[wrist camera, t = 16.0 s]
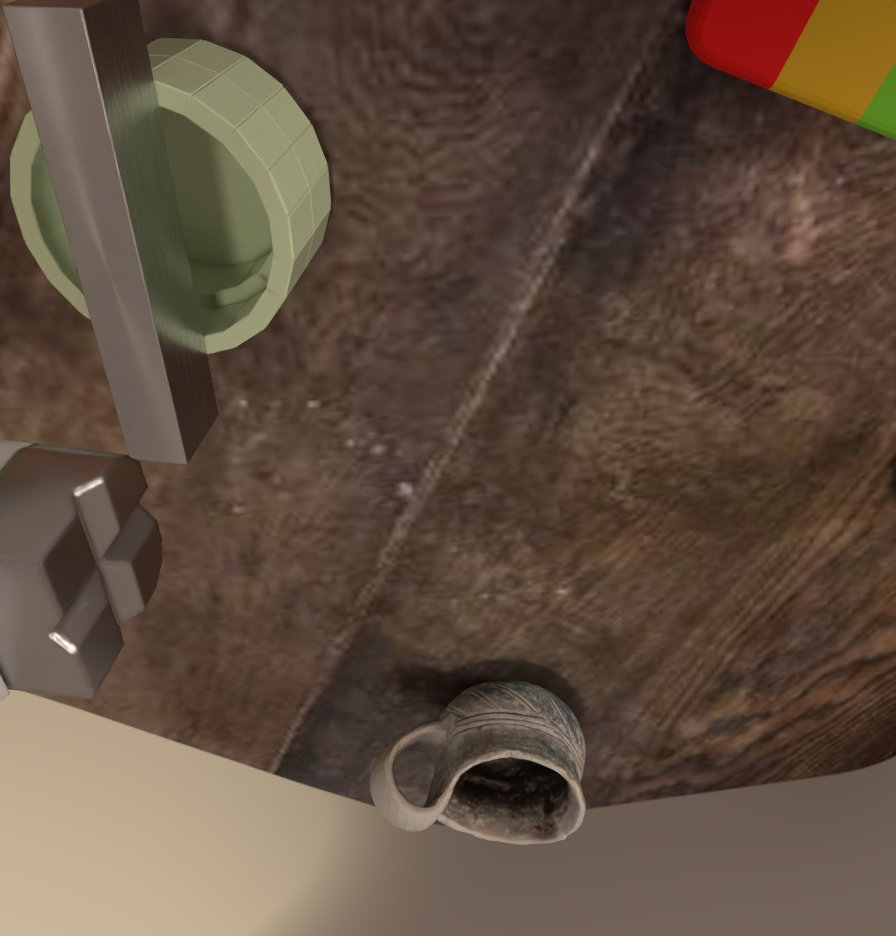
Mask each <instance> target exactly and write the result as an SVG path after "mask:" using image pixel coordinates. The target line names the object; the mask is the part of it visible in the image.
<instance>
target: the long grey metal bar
mask: <svg viewBox="0 0 896 936" xmlns="http://www.w3.org/2000/svg"><path fill="white" fill-rule="evenodd" d="M2 8H3V11H4V15H5V19H6V22H7V26H8V29H9V33H10V36H11V40H12V43H13V47H14V50H15V54H16V57H17V61H18V65H19V68H20V72H21V75H22V79H23V82H24V86H25V89H26V93H27V96H28V100H29V103H30V107H31V111H32V114H33V118H34V121H35V125H36V128H37V132H38V135H39V139H40V142H41V146H42V149H43V153H44V157H45V160H46V164H47V167H48V171H49V174H50V178H51V181H52V185H53V188H54V192H55V195H56V199H57V203H58V206H59V210H60V213H61V217H62V220H63V224H64V227H65V231H66V234H67V238H68V241H69V245H70V249H71V252H72V256H73V259H74V263H75V266H76V270H77V273H78V277H79V280H80V284H81V287H82V291H83V295H84V298H85V302H86V305H87V309H88V312H89V316H90V319H91V323H92V326H93V330H94V333H95V337H96V341H97V344H98V348H99V351H100V355H101V358H102V362H103V365H104V369H105V372H106V376H107V379H108V383H109V387H110V390H111V394H112V397H113V401H114V404H115V408H116V411H117V415H118V418H119V422H120V425H121V429H122V433H123V436H124V440H125V443H126V447H127V450H128V454H129V456H130V457H132V458H134V459H136V460H145V461H155V462H165V463H175V464H185V465H186V464H188V462H189V461H190V459H191V458H192V456H193V455H194V453H195V451H196V450H197V448H198V447H199V445H200V444H201V442H202V440H203V439H204V437H205V436H206V434H207V433H208V431H209V429H210V428H211V426H212V425H213V423H214V422H215V420H216V418H217V417H218V415H219V414H218V408H217V403H216V398H215V393H214V388H213V383H212V378H211V372H210V367H209V362H208V357H207V352H206V347H205V342H204V336H203V331H202V326H201V321H200V316H199V311H198V305H197V300H196V295H195V290H194V285H193V280H192V275H191V269H190V264H189V259H188V254H187V249H186V244H185V239H184V233H183V228H182V223H181V218H180V213H179V208H178V202H177V197H176V192H175V187H174V182H173V177H172V172H171V166H170V161H169V156H168V151H167V146H166V141H165V136H164V130H163V125H162V120H161V115H160V110H159V105H158V100H157V94H156V89H155V84H154V79H153V74H152V69H151V63H150V58H149V53H148V48H147V43H146V38H145V33H144V27H143V22H142V17H141V12H140V7H139V2H138V0H16V1H13V2H10V3H7V4H5V5H3V6H2Z"/></svg>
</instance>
